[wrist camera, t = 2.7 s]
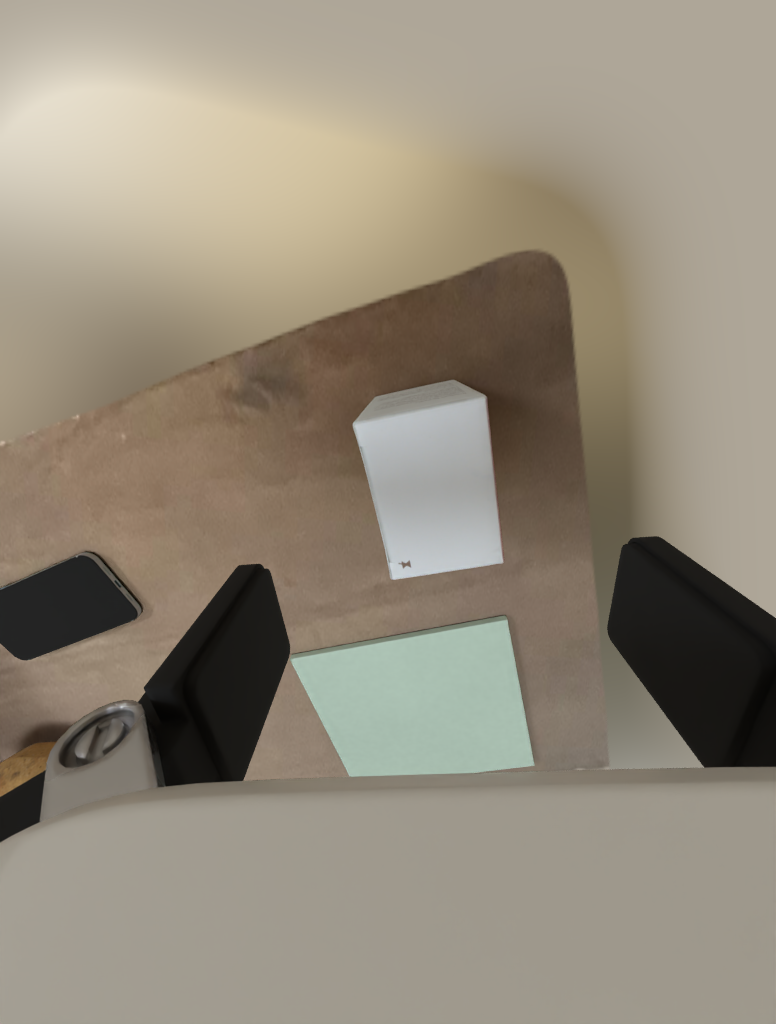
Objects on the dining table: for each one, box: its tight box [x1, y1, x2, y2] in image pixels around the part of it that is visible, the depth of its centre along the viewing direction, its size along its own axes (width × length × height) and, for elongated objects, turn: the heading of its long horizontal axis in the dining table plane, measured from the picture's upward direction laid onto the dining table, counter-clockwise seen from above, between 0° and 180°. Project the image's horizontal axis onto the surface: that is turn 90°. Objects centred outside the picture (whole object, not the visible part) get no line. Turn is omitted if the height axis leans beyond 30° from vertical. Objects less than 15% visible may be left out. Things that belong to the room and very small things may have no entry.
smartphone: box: [0, 552, 141, 660], centre depth 32 cm, size 7×1×15 cm
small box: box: [353, 380, 504, 580], centre depth 20 cm, size 8×6×10 cm
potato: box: [0, 741, 57, 797], centre depth 38 cm, size 10×14×8 cm
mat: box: [290, 615, 534, 777], centre depth 36 cm, size 20×20×1 cm
